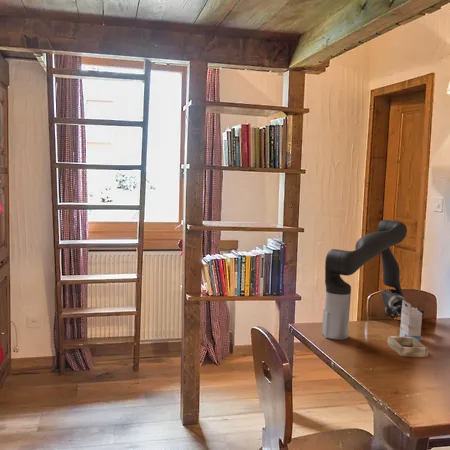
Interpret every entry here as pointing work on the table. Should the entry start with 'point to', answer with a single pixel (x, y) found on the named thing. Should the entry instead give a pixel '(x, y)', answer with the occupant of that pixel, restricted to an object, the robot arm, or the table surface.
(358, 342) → the table surface
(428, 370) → the table surface
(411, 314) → the ink box
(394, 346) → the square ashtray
